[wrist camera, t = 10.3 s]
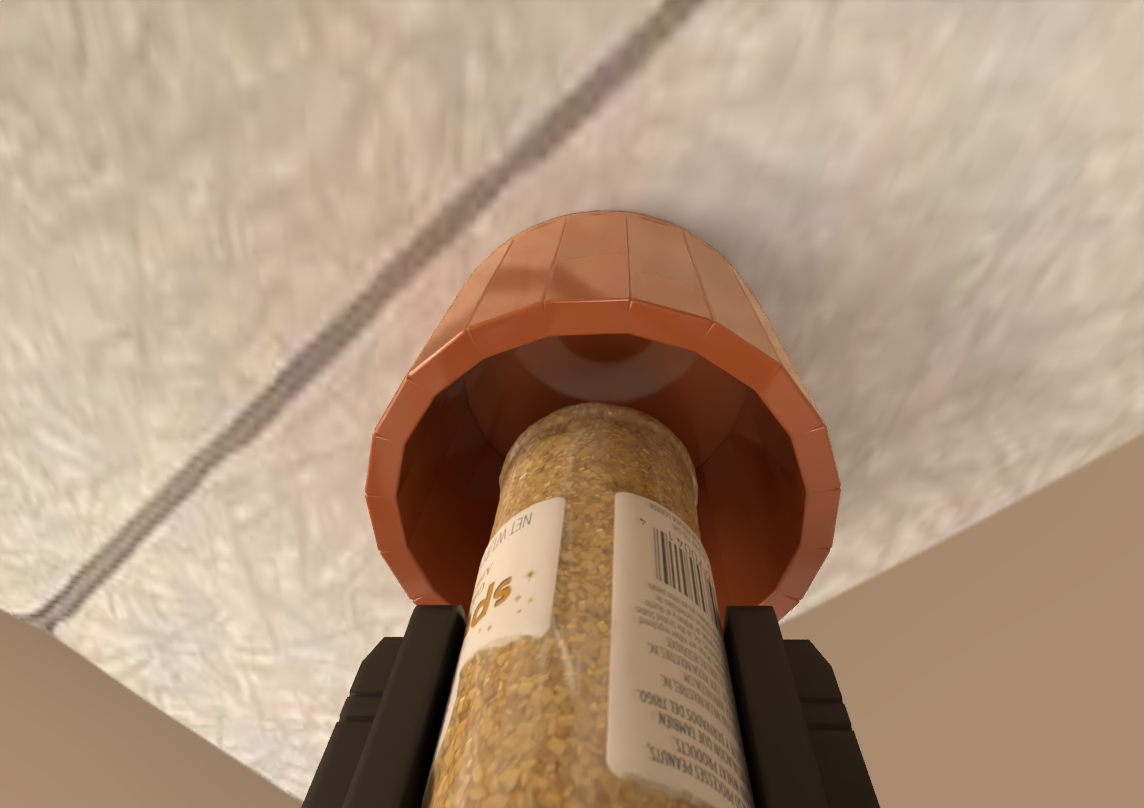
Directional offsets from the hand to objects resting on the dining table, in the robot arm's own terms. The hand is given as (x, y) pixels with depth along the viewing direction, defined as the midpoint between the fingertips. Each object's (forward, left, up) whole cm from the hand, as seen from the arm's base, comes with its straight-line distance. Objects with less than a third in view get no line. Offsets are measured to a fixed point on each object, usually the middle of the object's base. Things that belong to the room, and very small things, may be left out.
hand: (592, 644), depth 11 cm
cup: (0, 0, -11) cm, 11 cm away
